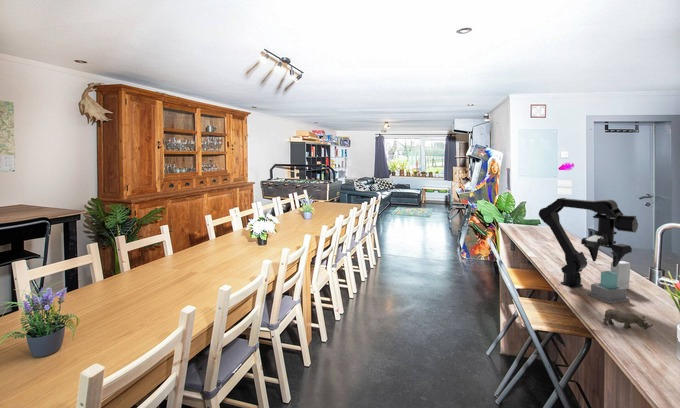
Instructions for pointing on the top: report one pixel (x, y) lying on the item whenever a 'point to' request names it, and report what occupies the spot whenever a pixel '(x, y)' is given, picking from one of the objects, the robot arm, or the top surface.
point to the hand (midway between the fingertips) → (604, 264)
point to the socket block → (608, 293)
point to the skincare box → (622, 273)
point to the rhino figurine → (625, 319)
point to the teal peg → (609, 279)
